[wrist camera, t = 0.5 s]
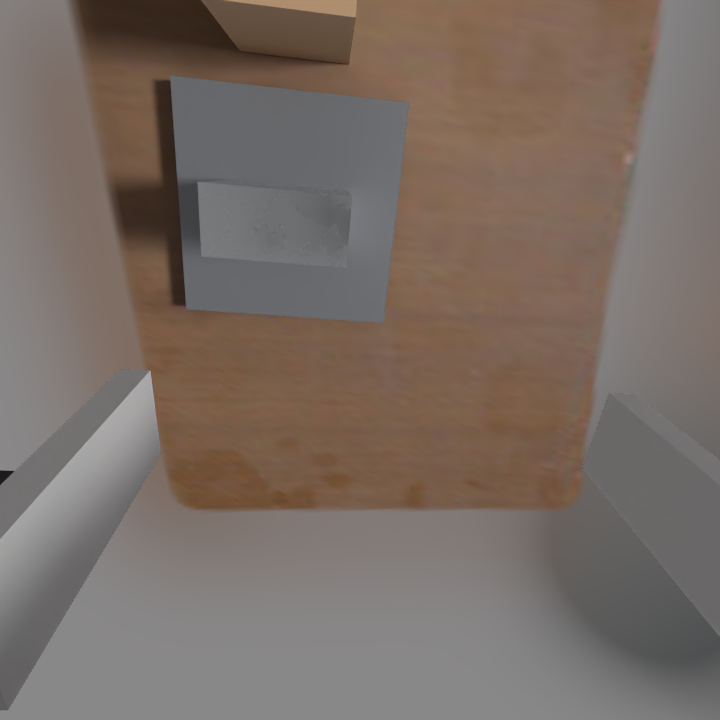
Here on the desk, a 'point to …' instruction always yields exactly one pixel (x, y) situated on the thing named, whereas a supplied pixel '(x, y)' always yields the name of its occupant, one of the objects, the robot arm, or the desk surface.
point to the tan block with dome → (289, 27)
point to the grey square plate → (286, 198)
